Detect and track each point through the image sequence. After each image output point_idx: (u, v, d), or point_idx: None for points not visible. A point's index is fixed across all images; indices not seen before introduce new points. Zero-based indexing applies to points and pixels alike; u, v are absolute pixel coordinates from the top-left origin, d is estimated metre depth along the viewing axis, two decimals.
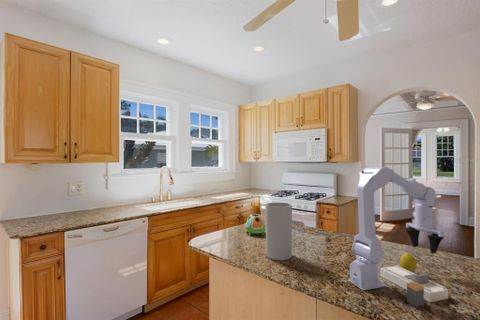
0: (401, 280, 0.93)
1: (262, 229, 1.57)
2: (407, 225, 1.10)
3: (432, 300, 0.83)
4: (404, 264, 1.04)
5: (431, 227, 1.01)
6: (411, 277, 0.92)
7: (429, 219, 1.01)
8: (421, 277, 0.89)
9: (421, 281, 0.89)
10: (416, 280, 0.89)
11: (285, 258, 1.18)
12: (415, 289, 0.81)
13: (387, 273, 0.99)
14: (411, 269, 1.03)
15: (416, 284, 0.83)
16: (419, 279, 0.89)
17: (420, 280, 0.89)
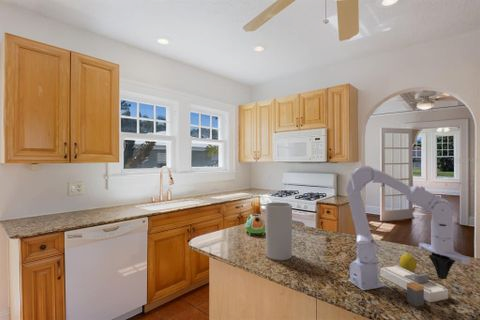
0: (401, 280, 0.93)
1: (262, 229, 1.57)
2: (420, 246, 0.89)
3: (432, 300, 0.83)
4: (404, 264, 1.04)
5: (452, 251, 0.81)
6: (411, 277, 0.92)
7: (449, 241, 0.81)
8: (421, 277, 0.89)
9: (421, 281, 0.89)
10: (416, 280, 0.89)
11: (285, 258, 1.18)
12: (415, 289, 0.81)
13: (387, 273, 0.99)
14: (411, 269, 1.03)
15: (416, 284, 0.83)
16: (419, 279, 0.89)
17: (420, 280, 0.89)
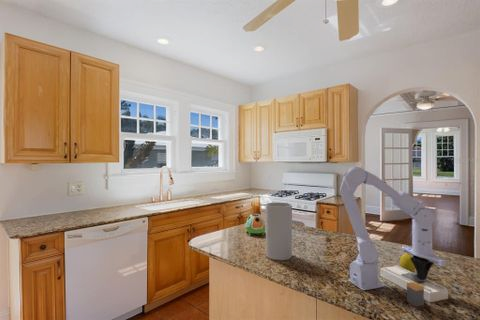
0: (401, 280, 0.93)
1: (262, 229, 1.57)
2: (403, 249, 0.96)
3: (432, 300, 0.83)
4: (404, 264, 1.04)
5: (430, 254, 0.87)
6: (408, 275, 0.94)
7: (428, 244, 0.87)
8: (417, 275, 0.91)
9: (417, 279, 0.91)
10: (412, 278, 0.91)
11: (285, 258, 1.18)
12: (415, 289, 0.81)
13: (387, 273, 0.99)
14: (411, 269, 1.03)
15: (416, 284, 0.83)
16: (415, 277, 0.90)
17: (416, 278, 0.90)
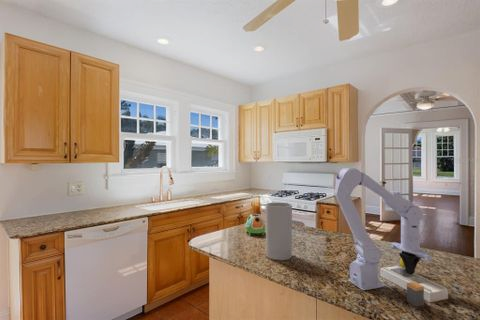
0: (401, 280, 0.93)
1: (262, 229, 1.57)
2: (392, 245, 1.00)
3: (432, 300, 0.83)
4: None
5: (417, 249, 0.92)
6: (397, 270, 0.98)
7: (415, 240, 0.91)
8: None
9: (406, 274, 0.95)
10: (401, 273, 0.95)
11: (285, 258, 1.18)
12: (415, 289, 0.81)
13: (387, 273, 0.99)
14: None
15: (416, 284, 0.83)
16: (404, 272, 0.95)
17: (405, 273, 0.95)
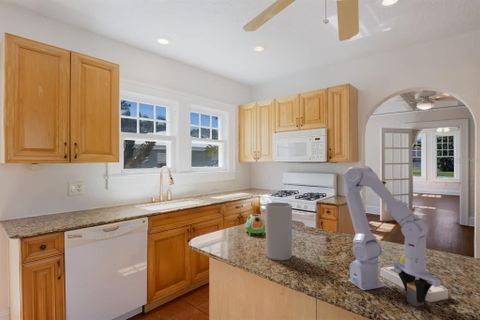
0: (401, 280, 0.93)
1: (262, 229, 1.57)
2: (395, 265, 0.89)
3: (432, 300, 0.83)
4: None
5: (424, 272, 0.80)
6: (396, 270, 0.98)
7: (421, 262, 0.80)
8: None
9: None
10: None
11: (285, 258, 1.18)
12: (415, 289, 0.81)
13: (387, 273, 0.99)
14: None
15: None
16: None
17: None
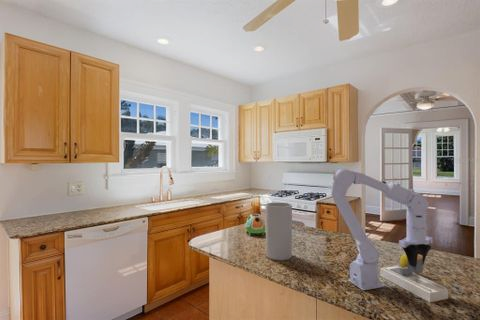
0: (401, 280, 0.93)
1: (262, 229, 1.57)
2: None
3: (432, 300, 0.83)
4: (404, 264, 1.04)
5: (411, 239, 0.90)
6: (396, 270, 0.98)
7: (408, 229, 0.91)
8: (405, 270, 0.95)
9: (405, 274, 0.95)
10: (401, 273, 0.95)
11: (285, 258, 1.18)
12: None
13: (387, 273, 0.99)
14: None
15: None
16: (403, 272, 0.95)
17: (404, 273, 0.95)
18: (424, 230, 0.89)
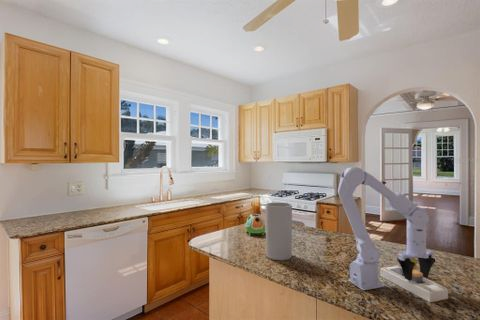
0: (401, 280, 0.93)
1: (262, 229, 1.57)
2: None
3: (432, 300, 0.83)
4: None
5: (411, 252, 0.91)
6: (396, 270, 0.98)
7: (408, 242, 0.92)
8: None
9: None
10: (401, 273, 0.95)
11: (285, 258, 1.18)
12: None
13: (387, 273, 0.99)
14: None
15: (416, 272, 0.92)
16: None
17: None
18: (424, 244, 0.89)
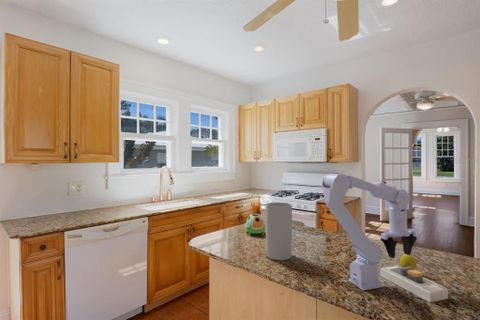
0: (401, 280, 0.93)
1: (262, 229, 1.57)
2: None
3: (432, 300, 0.83)
4: (404, 264, 1.04)
5: (393, 231, 0.96)
6: (396, 270, 0.98)
7: (390, 222, 0.97)
8: (405, 270, 0.95)
9: (405, 274, 0.95)
10: (401, 273, 0.95)
11: (285, 258, 1.18)
12: None
13: (387, 273, 0.99)
14: None
15: (416, 272, 0.92)
16: (403, 272, 0.95)
17: (404, 273, 0.95)
18: (405, 223, 0.95)
